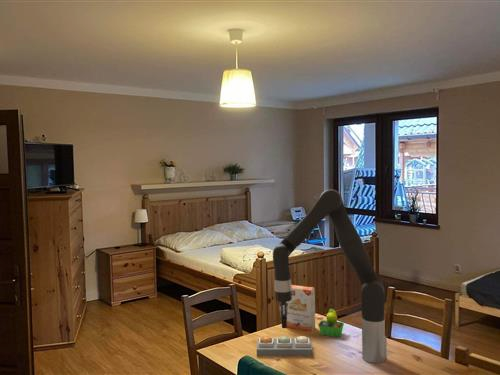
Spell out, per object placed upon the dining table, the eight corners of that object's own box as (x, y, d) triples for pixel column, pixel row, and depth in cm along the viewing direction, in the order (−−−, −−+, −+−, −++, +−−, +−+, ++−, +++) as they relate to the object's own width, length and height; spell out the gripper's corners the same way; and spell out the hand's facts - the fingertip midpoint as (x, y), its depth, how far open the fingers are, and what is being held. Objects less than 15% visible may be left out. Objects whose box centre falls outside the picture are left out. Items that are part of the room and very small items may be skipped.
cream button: (306, 340, 198) (306, 336, 198) (307, 344, 194) (307, 340, 194) (297, 340, 199) (296, 336, 198) (297, 344, 194) (297, 340, 194)
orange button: (271, 340, 199) (271, 336, 199) (271, 344, 195) (270, 339, 195) (261, 340, 200) (261, 336, 199) (261, 344, 195) (260, 339, 195)
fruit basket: (317, 335, 213) (317, 312, 213) (322, 329, 222) (321, 306, 221) (341, 338, 209) (341, 315, 208) (345, 332, 217) (344, 309, 217)
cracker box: (285, 327, 225) (284, 287, 224) (289, 323, 230) (289, 284, 229) (311, 331, 218) (310, 290, 217) (315, 327, 223) (315, 287, 222)
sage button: (288, 340, 199) (288, 336, 199) (289, 344, 194) (289, 340, 194) (279, 340, 199) (279, 336, 199) (279, 344, 195) (279, 340, 195)
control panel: (310, 345, 202) (310, 335, 202) (312, 356, 190) (312, 346, 190) (257, 344, 204) (257, 335, 203) (256, 356, 192) (256, 345, 191)
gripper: (292, 293, 189) (293, 333, 189) (291, 285, 202) (292, 322, 203) (274, 293, 189) (275, 333, 190) (274, 285, 202) (275, 322, 203)
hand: (284, 327), depth 196 cm, fingers closed
